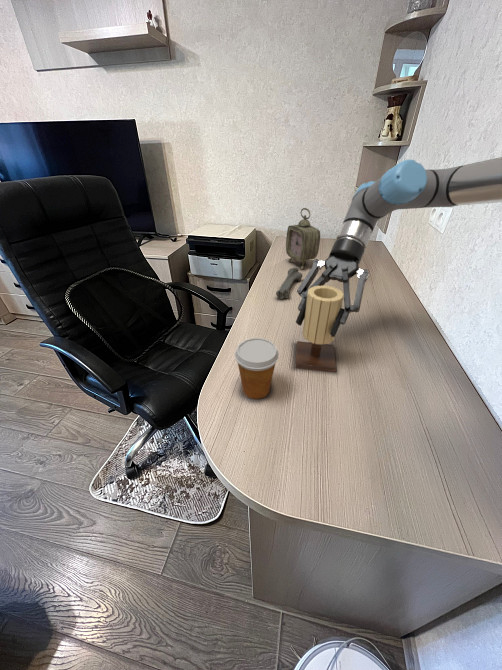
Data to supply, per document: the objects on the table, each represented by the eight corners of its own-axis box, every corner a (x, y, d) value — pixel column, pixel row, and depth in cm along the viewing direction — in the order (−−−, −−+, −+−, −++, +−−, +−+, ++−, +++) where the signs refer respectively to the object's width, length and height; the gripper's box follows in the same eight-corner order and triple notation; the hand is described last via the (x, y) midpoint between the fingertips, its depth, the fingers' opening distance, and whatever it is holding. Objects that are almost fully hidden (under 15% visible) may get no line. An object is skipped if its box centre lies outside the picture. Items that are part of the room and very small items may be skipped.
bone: (288, 277, 120) (288, 264, 116) (303, 279, 118) (304, 265, 114) (272, 299, 103) (273, 284, 100) (289, 302, 101) (291, 287, 98)
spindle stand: (335, 372, 71) (346, 322, 62) (295, 368, 72) (301, 319, 63) (332, 348, 79) (341, 301, 70) (296, 345, 80) (302, 298, 71)
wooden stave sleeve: (335, 346, 67) (345, 302, 60) (302, 342, 68) (308, 299, 61) (333, 327, 74) (341, 286, 67) (302, 325, 75) (307, 284, 68)
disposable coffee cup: (266, 371, 71) (267, 332, 64) (283, 397, 64) (286, 357, 57) (231, 381, 68) (228, 341, 61) (244, 409, 61) (243, 368, 54)
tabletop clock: (284, 261, 136) (288, 206, 121) (300, 258, 139) (305, 204, 124) (301, 271, 125) (307, 212, 110) (317, 268, 128) (325, 210, 114)
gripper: (394, 261, 67) (359, 347, 65) (313, 245, 76) (281, 320, 75) (396, 244, 60) (357, 340, 59) (307, 230, 70) (272, 312, 68)
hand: (314, 329), depth 67 cm, fingers closed on wooden stave sleeve, 8 cm apart
